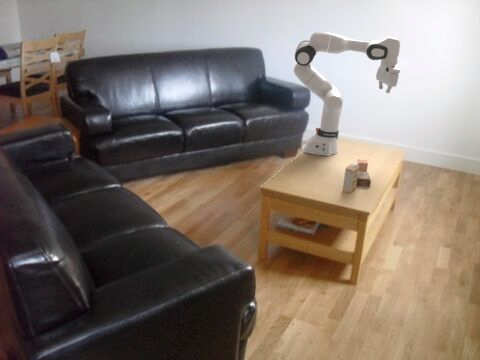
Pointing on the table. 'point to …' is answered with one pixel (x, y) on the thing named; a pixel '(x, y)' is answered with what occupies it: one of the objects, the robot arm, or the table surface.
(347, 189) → the supplement box
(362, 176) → the plinth
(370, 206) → the table surface
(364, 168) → the terracotta block
